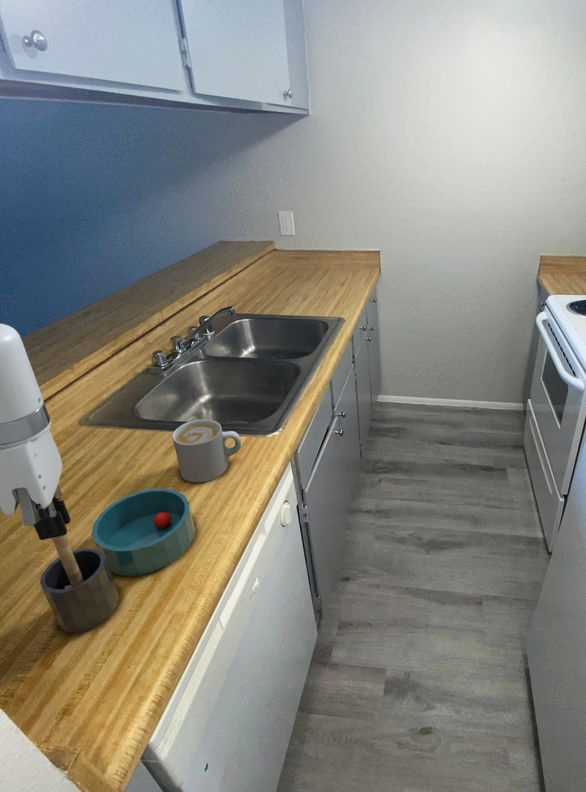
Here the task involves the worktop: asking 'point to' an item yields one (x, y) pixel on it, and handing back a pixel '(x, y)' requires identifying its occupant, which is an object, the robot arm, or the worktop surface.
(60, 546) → the paddle
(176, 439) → the coffee mug
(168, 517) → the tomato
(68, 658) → the worktop surface
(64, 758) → the worktop surface
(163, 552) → the bowl
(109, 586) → the crock
